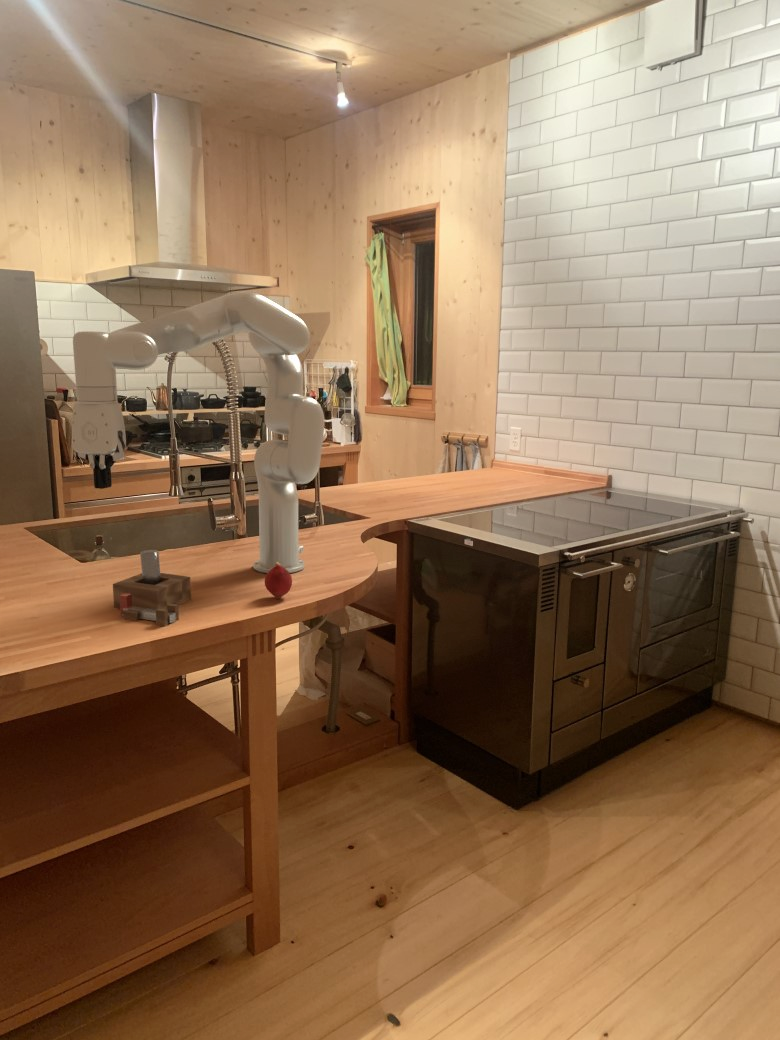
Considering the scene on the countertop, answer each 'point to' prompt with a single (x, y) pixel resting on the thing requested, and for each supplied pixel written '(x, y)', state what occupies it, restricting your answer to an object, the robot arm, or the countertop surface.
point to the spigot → (150, 567)
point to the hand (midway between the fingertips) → (103, 487)
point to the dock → (154, 595)
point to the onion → (278, 581)
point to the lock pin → (141, 609)
